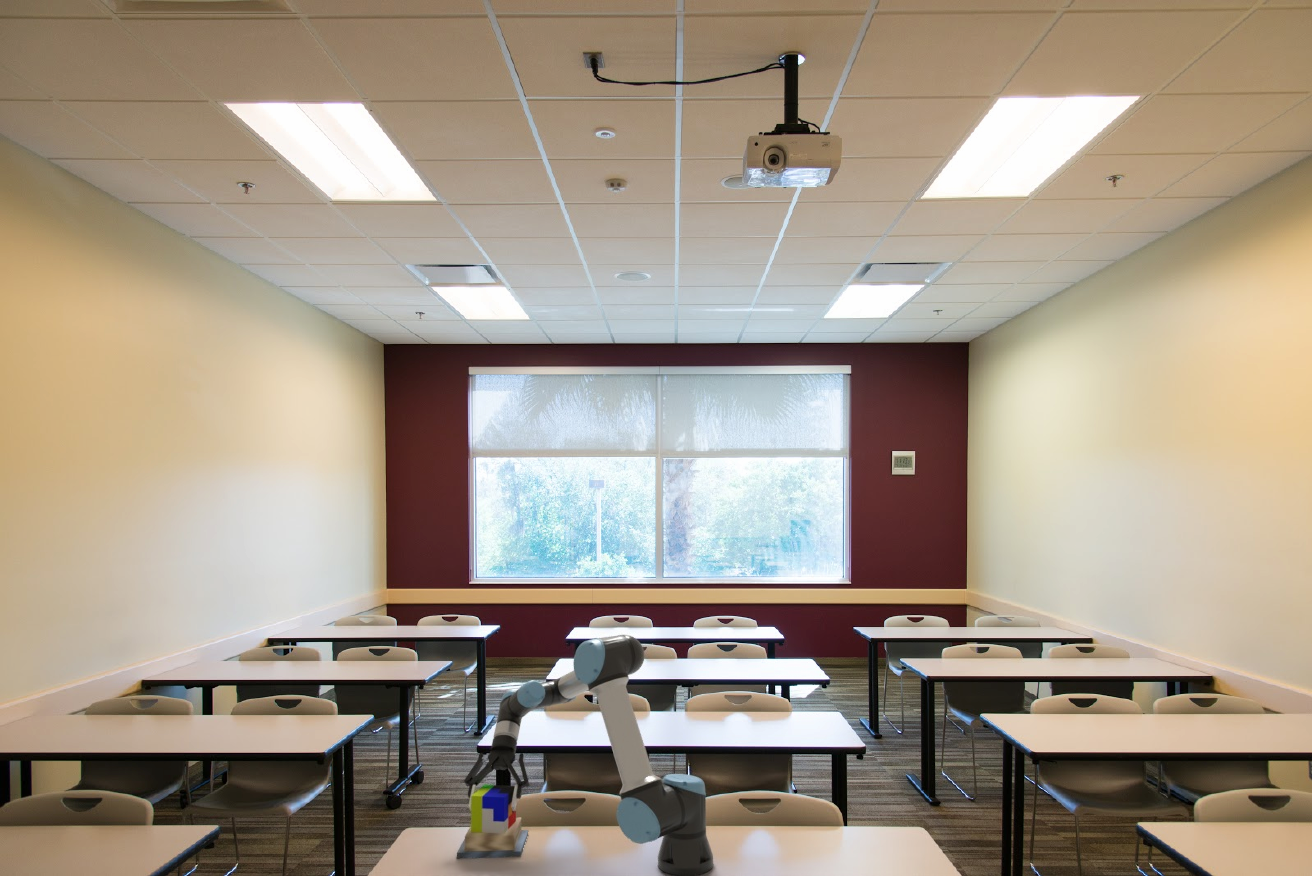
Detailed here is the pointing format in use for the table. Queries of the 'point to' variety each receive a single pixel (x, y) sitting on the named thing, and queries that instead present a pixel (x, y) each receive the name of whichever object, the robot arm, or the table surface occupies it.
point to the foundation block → (494, 843)
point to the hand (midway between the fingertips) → (491, 808)
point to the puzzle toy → (492, 809)
